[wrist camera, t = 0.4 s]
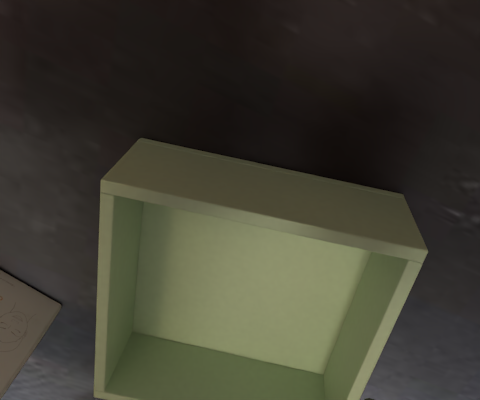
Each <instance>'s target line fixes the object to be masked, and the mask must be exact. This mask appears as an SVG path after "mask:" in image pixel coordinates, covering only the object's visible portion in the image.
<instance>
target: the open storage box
mask: <svg viewBox="0 0 480 400" xmlns="http://www.w3.org/2000/svg"><path fill="white" fill-rule="evenodd" d="M100 191H101V193H100V219H99V249H98V279H97V310H96V340H95V370H94V397H96V398H101V399H105V400H359V399H360V397H361V395H362V393H363V391H364V389H365V386H366V384H367V382H368V380H369V378H370V376H371V374H372V371H373V369H374V367H375V365H376V363H377V361H378V359H379V356H380V354H381V352H382V350H383V348H384V346H385V344H386V341H387V339H388V337H389V335H390V333H391V331H392V328H393V326H394V324H395V322H396V320H397V318H398V316H399V313H400V311H401V309H402V307H403V305H404V303H405V301H406V298H407V296H408V294H409V292H410V290H411V288H412V286H413V283H414V281H415V279H416V277H417V275H418V273H419V270H420V268H421V266H422V262H424V259H425V257H426V255H427V253H428V250H427V248H426V245H425V243H424V241H423V239H422V236H421V234H420V232H419V230H418V227H417V225H416V223H415V221H414V218H413V216H412V214H411V211H410V209H409V207H408V205H407V202H406V200H405V198H404V195H403V194H399V193H395V192H390V191H385V190H381V189H376V188H371V187H367V186H362V185H358V184H353V183H348V182H344V181H339V180H334V179H330V178H325V177H321V176H316V175H311V174H307V173H302V172H297V171H293V170H288V169H283V168H279V167H274V166H270V165H265V164H260V163H256V162H251V161H246V160H242V159H237V158H232V157H228V156H223V155H219V154H214V153H209V152H205V151H200V150H195V149H191V148H186V147H181V146H177V145H172V144H168V143H163V142H158V141H154V140H149V139H144V138H140V139H139V140H138V141H137V142H136V143H135V144H134V145H133V146H132V147H131V148H130V149H129V150H128V151H127V153H126V154H125V155H124V156H123V157H122V158H121V159H120V160H119V161H118V162H117V163H116V164H115V165H114V166H113V167H112V169H111V170H110V171H109V172H108V173H107V174H106V175H105V176H104V177H103V178H102V179H101V189H100Z"/></svg>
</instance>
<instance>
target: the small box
mask: <svg viewBox="0 0 480 400" xmlns="http://www.w3.org/2000/svg"><path fill="white" fill-rule="evenodd" d="M61 307H62V306H61V304H59V303H57V302H55V301H54V300H52V299H50V298H48V297H47V296H45V295H43V294H41V293H40V292H38V291H36V290H34V289H33V288H31V287H29V286H28V285H26V284H24V283H22V282H21V281H19V280H17V279H15V278H14V277H12V276H10V275H8V274H7V273H5V272H3V271H1V270H0V400H1V398H2V397H3V395H4V394H5V392H6V391H7V389H8V388H9V386H10V385H11V383H12V382H13V380H14V379H15V378H16V376H17V375H18V373H19V372H20V370H21V369H22V367H23V366H24V364H25V363H26V361H27V360H28V358H29V357H30V355H31V354H32V352H33V351H34V349H35V348H36V346H37V345H38V343H39V342H40V340H41V339H42V337H43V336H44V334H45V333H46V331H47V330H48V328H49V327H50V325H51V324H52V322H53V320H54V319H55V317H56V316H57V314H58V313H59V311H60V309H61Z"/></svg>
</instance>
